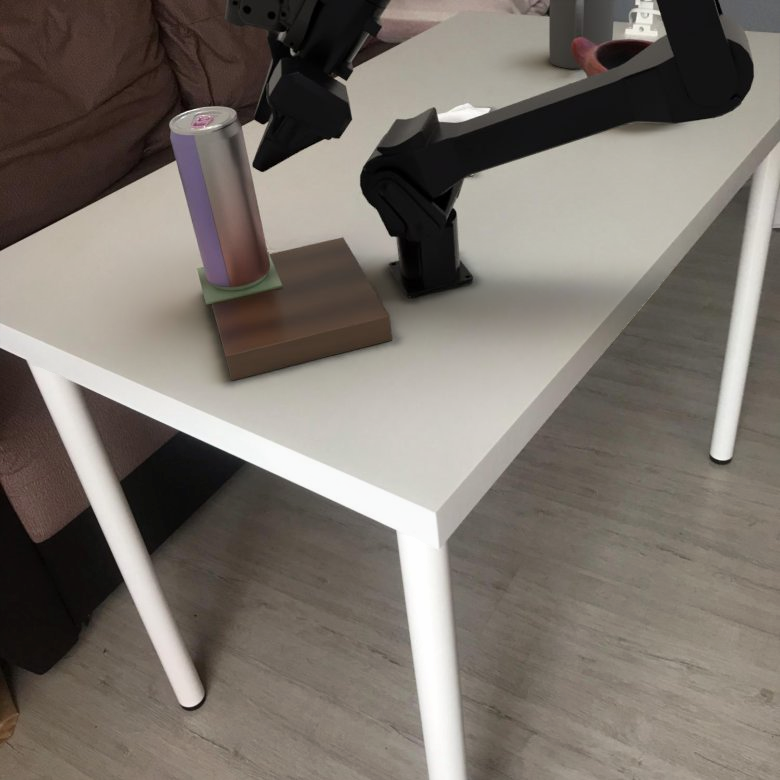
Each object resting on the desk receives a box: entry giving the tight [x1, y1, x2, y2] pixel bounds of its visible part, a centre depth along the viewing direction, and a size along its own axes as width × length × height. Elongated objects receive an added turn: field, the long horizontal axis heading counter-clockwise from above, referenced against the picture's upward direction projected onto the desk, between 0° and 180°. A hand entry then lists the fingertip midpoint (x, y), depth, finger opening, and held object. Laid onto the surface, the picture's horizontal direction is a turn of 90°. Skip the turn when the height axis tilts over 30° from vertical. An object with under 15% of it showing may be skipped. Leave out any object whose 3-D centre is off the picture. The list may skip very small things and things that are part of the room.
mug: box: [548, 0, 616, 70], centre depth 124 cm, size 14×9×12 cm
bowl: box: [571, 37, 655, 78], centre depth 108 cm, size 16×13×8 cm
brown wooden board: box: [196, 236, 393, 381], centre depth 78 cm, size 16×14×3 cm
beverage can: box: [168, 105, 270, 291], centre depth 76 cm, size 6×6×15 cm
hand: (257, 144), depth 75 cm, fingers open, 9 cm apart
